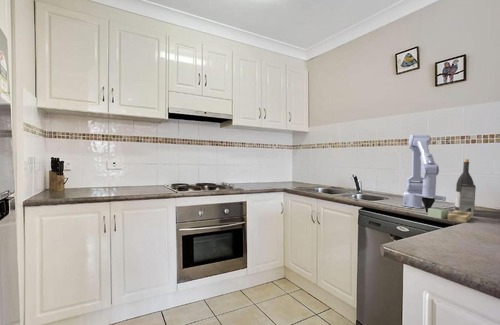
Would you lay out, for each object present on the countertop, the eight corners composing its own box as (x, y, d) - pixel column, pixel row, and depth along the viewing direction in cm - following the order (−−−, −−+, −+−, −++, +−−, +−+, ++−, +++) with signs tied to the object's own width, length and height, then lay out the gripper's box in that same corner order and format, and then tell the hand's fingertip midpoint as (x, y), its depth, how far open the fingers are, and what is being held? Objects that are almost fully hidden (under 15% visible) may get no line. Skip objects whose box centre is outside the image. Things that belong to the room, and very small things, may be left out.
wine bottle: (456, 210, 150) (459, 159, 149) (453, 207, 157) (456, 159, 156) (474, 212, 146) (477, 159, 145) (470, 209, 153) (473, 159, 152)
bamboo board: (447, 219, 127) (447, 214, 127) (454, 214, 137) (454, 210, 137) (465, 222, 122) (465, 217, 122) (471, 217, 132) (471, 212, 132)
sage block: (427, 216, 133) (428, 208, 133) (435, 214, 137) (435, 207, 137) (440, 218, 128) (441, 210, 128) (448, 217, 132) (448, 209, 132)
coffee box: (458, 211, 146) (460, 183, 146) (473, 213, 142) (475, 184, 142) (458, 214, 139) (460, 184, 139) (474, 216, 135) (475, 185, 135)
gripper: (411, 185, 139) (409, 210, 139) (444, 189, 128) (442, 216, 128) (415, 185, 143) (414, 209, 144) (447, 188, 132) (446, 214, 133)
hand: (427, 212), depth 136 cm, fingers closed
